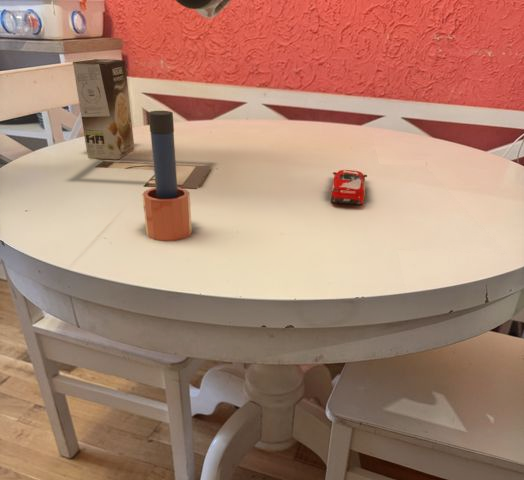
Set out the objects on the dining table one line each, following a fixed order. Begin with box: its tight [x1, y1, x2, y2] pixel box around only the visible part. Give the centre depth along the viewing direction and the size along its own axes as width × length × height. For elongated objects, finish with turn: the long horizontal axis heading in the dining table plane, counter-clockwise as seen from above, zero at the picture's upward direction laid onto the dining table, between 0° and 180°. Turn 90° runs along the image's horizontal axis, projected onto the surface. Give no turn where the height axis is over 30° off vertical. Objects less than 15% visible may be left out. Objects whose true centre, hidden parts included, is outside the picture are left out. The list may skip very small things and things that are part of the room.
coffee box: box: [72, 58, 135, 160], centre depth 94 cm, size 9×6×16 cm
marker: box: [147, 110, 178, 199], centre depth 60 cm, size 3×3×14 cm
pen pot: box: [141, 187, 193, 242], centre depth 63 cm, size 6×6×6 cm
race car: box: [330, 169, 368, 205], centre depth 79 cm, size 13×5×4 cm, turn 169°
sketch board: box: [95, 160, 212, 190], centre depth 86 cm, size 20×14×1 cm
